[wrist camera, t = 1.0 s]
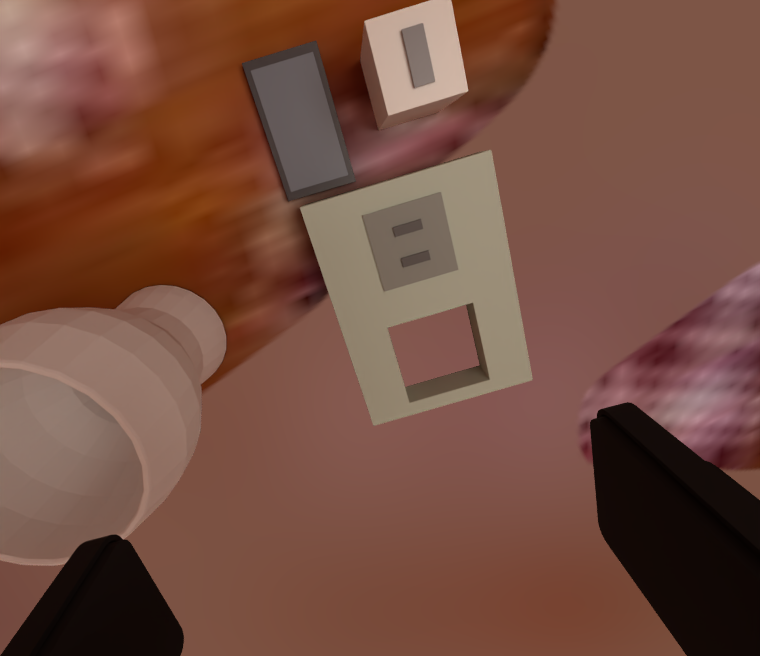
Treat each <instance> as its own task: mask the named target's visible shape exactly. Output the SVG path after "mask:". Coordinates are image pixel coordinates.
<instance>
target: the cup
mask: <svg viewBox="0 0 760 656" xmlns="http://www.w3.org/2000/svg"><path fill="white" fill-rule="evenodd" d="M225 351H226V333H225V330H224V327H223V323H222V321H221V320H220V318H219V316H218V315H217V313H216V311H215V310H214V309H213V308H212V307H211V306H210V305H209V304H208V303H207V302H206V301H205V300H204V299H203V298H201V297H199V296H198V295H196V294H194V293H193V292H191V291H188V290H186V289H183V288H180V287H177V286H167V285H157V286H151V287H145V288H143V289H141V290H139V291H137V292H134V293H132V294H131V295H130V296H129V297H128V298H127V299H126V300H124V301H123V302H122V303H121V304H120V305H119V306H118V307H117V308H115V309H104V308H91V307H84V308H57V309H51V310H45V311H39V312H33V313H27V314H25V315H23V316H20V317H18V318H15V319H13V320H11V321H8V322H6V323H3V324H1V325H0V560H1V561H6V562H11V563H16V564H21V565H43V566H56V565H61V564H66V562H67V561H68V560H69V558H70V557H71V555H72V554H73V553H74V551H75V550H76V548H77V547H78V546H79V545H80V544H82V543H84V542H85V541H89V540H93V539H97V538H101V537H105V536H108V535H115V534H116V535H118V536H120V537H121V538H122V539H124V538H126V537H127V536H129V535H130V534H131V533H132V532H133V531H134V530H135V529H136V528H137V527H138V526H139V525H140V524H141V523H142V522H143V521H144V520H145V519H146V518H147V517H148V516H149V515H150V514H152V513H153V512H154V510H156V509H157V508H158V507H159V506H160V505H161V504H162V503H163V501H165V500H166V498H167V497H168V495H169V494H170V493H171V491H172V490H173V488H174V487H175V485H176V484H177V483H178V481H179V480H180V478H181V476H182V474H183V473H184V471H185V469H186V467H187V465H188V463H189V461H190V460H191V458H192V455H193V454H194V451H195V448H196V445H197V442H198V438H199V434H200V431H201V414H202V391H201V384H202V383H203V382H204V381H206V380H207V379H208V378H209V377H210V376H211V375H212V374H213V373H214V372H216V370H217V369H218V367H219V366H220V364H221V363H222V361H223V358H224V355H225Z"/></svg>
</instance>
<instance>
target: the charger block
mask: <svg viewBox="0 0 760 656" xmlns="http://www.w3.org/2000/svg"><path fill="white" fill-rule="evenodd" d="M360 62H361V66H362V70H363V74H364V78H365V82H366V85H367V89H368V93H369V97H370V101H371V105H372V108H373V112H374V116H375V120H376V124H377V128H378V131H379V130H382V129H385V128H389V127H392V126H395V125H399V124H402V123H405V122H408V121H412V120H415V119H418V118H421V117H425V116H428V115H431V114H434V113H438V112H440V111H441V110H443V109H444V108H445V107H447V106H448V105H450V104H451V103H452V102H454V101H455V100H457V99H458V98H459V97H461V96H462V95H464V94H465V93H466V92H468V87H467V81H466V76H465V71H464V66H463V60H462V55H461V50H460V44H459V39H458V34H457V29H456V23H455V18H454V13H453V7H452V2H451V0H430V1H427V2H424V3H420V4H417V5H414V6H411V7H408V8H404V9H401V10H398V11H395V12H392V13H388V14H385V15H382V16H379V17H376V18H372V19H369V20H366V21H364V30H363V39H362V48H361V57H360Z"/></svg>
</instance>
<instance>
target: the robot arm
mask: <svg viewBox="0 0 760 656" xmlns="http://www.w3.org/2000/svg"><path fill="white" fill-rule="evenodd" d="M590 430H591V442H592V454H593V466H594V477H595V489H596V501H597V513H598V523H599V527H600V530H601V533H602V535H603V537H604V539H605V541H606V542H607V544H608V545H609V547H610V548H611V550H612V551H613V552H614V554H615V555H616V557H617V558H618V559H619V561H620V562H621V564H622V565H623V566H624V568H625V569H626V571H627V572H628V573H629V575H630V576H631V577H632V579H633V580H634V582H635V583H636V585H637V586H638V588H639V589H640V590H641V592H642V593H643V594H644V596H645V597H646V598H647V600H648V601H649V603H650V604H651V606H652V607H653V609H654V610H655V611H656V613H657V614H658V616H659V617H660V619H661V620H662V621H663V623H664V624H665V626H666V627H667V628H668V630H669V631H670V633H671V634H672V635H673V637H674V638H675V640H676V641H677V642H678V644H679V645H680V646H681V648H682V649H683V651H684V652H685V654H686V655H687V656H760V500H759V499H757V498H756V497H755V496H754V495H752V494H751V493H750V492H749V491H747V490H746V489H745V488H743V487H742V486H741V485H740V484H738V483H737V482H736V481H735V480H733V479H732V478H731V477H730V476H728V475H727V474H726V473H724V472H723V471H722V470H721V469H719V468H718V467H716V466H715V465H713V464H712V463H710V462H707V461H704V460H703V459H702V458H701V457H699V456H698V455H697V454H696V453H694V452H693V451H692V450H691V449H689V448H688V447H687V446H686V445H684V444H683V443H682V442H681V441H679V440H678V439H677V438H676V437H674V436H673V435H672V434H671V433H669V432H668V431H667V430H666V429H664V428H663V427H662V426H661V425H659V424H658V423H657V422H656V421H654V420H653V419H652V418H651V417H649V416H648V415H647V414H646V413H644V412H643V411H642V410H641V409H639V408H638V407H637V406H636V405H634V404H632V403H628V402H627V403H623V404H619V405H615V406H611V407H607V408H604V409H600V410H599V411H598V413H597V418H596V419H593V420H591V422H590ZM183 643H184V635H183V631H182V628H181V626H180V625H179V623H178V621H177V619H176V618H175V616H174V615H173V613H172V611H171V609H170V608H169V606H168V604H167V603H166V601H165V599H164V598H163V596H162V595H161V593H160V592H159V589H158V588H157V586H156V584H155V583H154V581H153V580H152V578H151V576H150V574H149V573H148V571H147V569H146V568H145V566H144V564H143V563H142V561H141V559H140V558H139V556H138V554H137V553H136V551H135V549H134V548H133V546H132V544H131V543H130V542H129V541H128V540H123V539H122V538H121V537H120V536H118V535H116V534H115V535H108V536H105V537H101V538H97V539H93V540H89V541H85V542H84V543H82V544H80V545H79V546H78V547H77V548H76V550H75V551H74V553H73V554H72V555H71V557H70V558H69V560H68V561H67V562H66V564H65V565H64V567H63V568H62V570H61V571H60V572H59V574H58V575H57V577H56V578H55V580H54V581H53V582H52V584H51V585H50V586H49V588H48V589H47V591H46V592H45V593H44V595H43V597H42V598H41V599H40V600H39V602H38V603H37V605H36V606H35V607H34V609H33V610H32V612H31V613H30V615H29V616H28V617H27V619H26V620H25V622H24V623H23V624H22V626H21V627H20V629H19V630H18V631H17V633H16V634H15V636H14V637H13V638H12V640H11V641H10V643H9V644H8V646H7V647H6V648H5V650H4V651H3V653H2V654H1V655H0V656H180V655H181V652H182V649H183Z"/></svg>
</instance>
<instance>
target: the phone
mask: <svg viewBox="0 0 760 656" xmlns="http://www.w3.org/2000/svg"><path fill="white" fill-rule="evenodd" d="M242 65H243V68H244V71H245V74H246V77H247V80H248V83H249V86H250V89H251V92H252V95H253V98H254V101H255V103H256V106H257V109H258V112H259V115H260V118H261V121H262V124H263V127H264V130H265V133H266V136H267V139H268V142H269V145H270V148H271V151H272V154H273V157H274V160H275V163H276V165H277V168H278V171H279V174H280V177H281V180H282V183H283V186H284V189H285V192H286V195H287V198H288V201H291V200H295V199H298V198H301V197H305V196H308V195H311V194H315V193H318V192H322V191H325V190H328V189H332V188H335V187H338V186H342V185H345V184H348V183H352V182H355V181H356V180H355V177H354V173H353V170H352V166H351V162H350V159H349V155H348V152H347V148H346V145H345V141H344V138H343V134H342V131H341V127H340V124H339V120H338V116H337V113H336V109H335V106H334V102H333V99H332V95H331V92H330V88H329V85H328V81H327V78H326V74H325V70H324V67H323V63H322V60H321V56H320V53H319V49H318V46H317V42H316V41H313V42H310V43H307V44H304V45H300V46H297V47H294V48H290V49H287V50H284V51H281V52H277V53H274V54H271V55H268V56H264V57H261V58H258V59H254V60H251V61H248V62H245V63H242Z"/></svg>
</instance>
